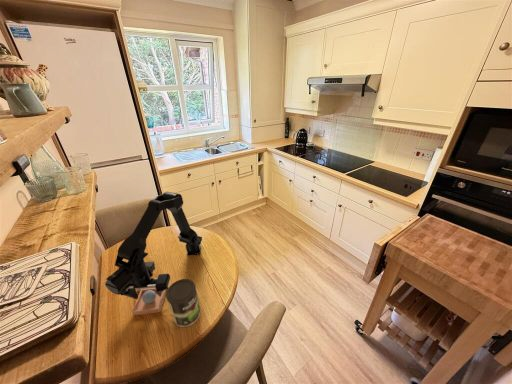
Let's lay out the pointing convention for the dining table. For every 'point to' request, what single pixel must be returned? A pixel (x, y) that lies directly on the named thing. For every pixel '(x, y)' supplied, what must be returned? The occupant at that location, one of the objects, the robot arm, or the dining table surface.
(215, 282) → the dining table surface
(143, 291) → the dish
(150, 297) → the ball
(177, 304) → the coffee can
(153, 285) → the wall
